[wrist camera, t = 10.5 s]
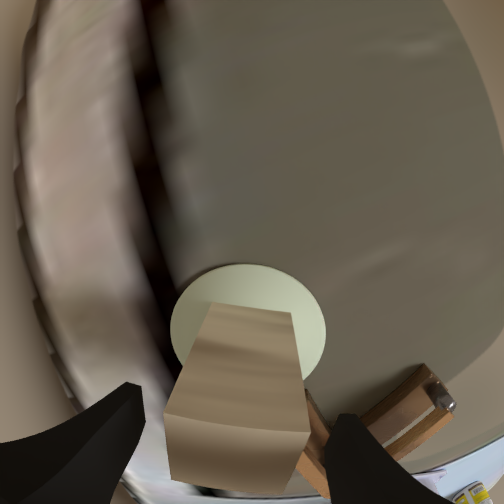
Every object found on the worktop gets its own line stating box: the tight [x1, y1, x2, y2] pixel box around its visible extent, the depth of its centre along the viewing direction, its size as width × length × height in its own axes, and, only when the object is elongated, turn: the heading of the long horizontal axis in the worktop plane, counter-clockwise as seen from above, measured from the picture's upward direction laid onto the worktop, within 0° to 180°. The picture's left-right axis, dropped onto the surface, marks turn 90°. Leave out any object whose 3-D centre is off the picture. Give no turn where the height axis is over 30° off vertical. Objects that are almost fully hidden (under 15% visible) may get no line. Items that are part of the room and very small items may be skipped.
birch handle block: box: [163, 302, 311, 494], centre depth 11 cm, size 4×4×8 cm
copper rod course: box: [295, 364, 456, 499], centre depth 14 cm, size 12×12×4 cm
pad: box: [170, 263, 326, 380], centre depth 15 cm, size 8×8×1 cm
